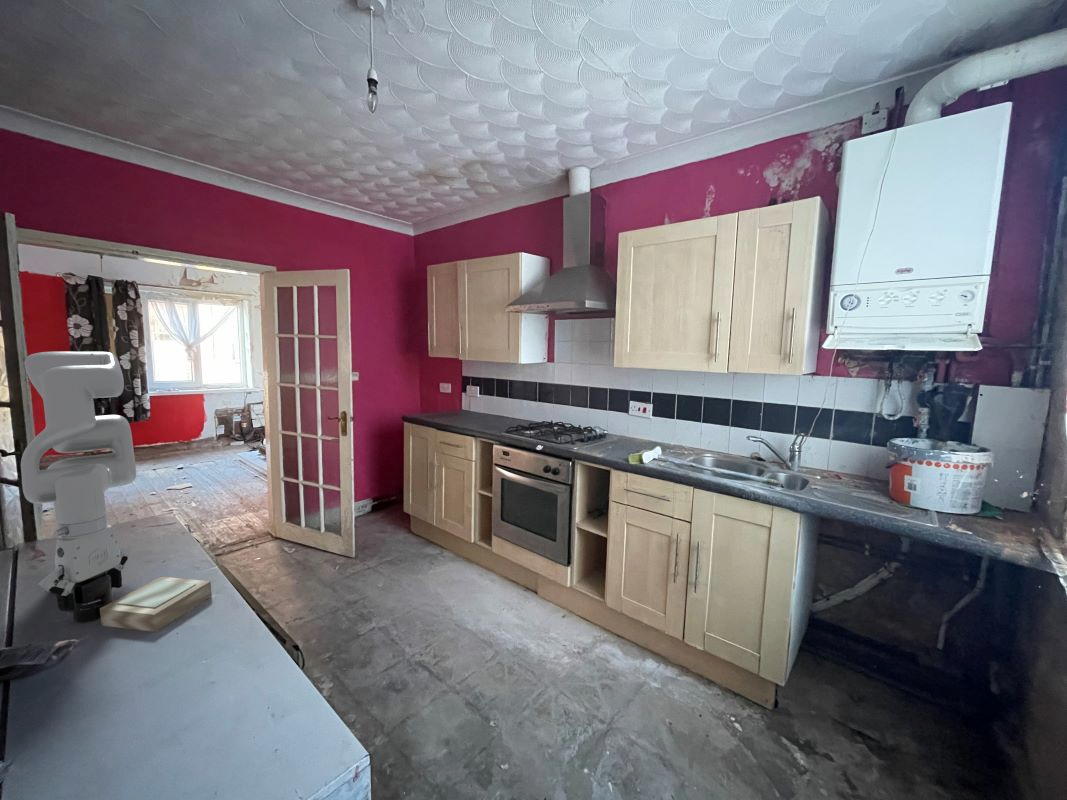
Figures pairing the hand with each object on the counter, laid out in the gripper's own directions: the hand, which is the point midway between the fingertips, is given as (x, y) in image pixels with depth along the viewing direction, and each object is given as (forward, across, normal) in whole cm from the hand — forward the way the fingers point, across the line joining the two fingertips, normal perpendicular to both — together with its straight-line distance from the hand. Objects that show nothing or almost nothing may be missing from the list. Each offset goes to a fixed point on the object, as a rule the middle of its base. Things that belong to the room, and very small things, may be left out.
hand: (92, 598), depth 102 cm
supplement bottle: (+4, 0, 0) cm, 4 cm away
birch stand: (+4, +4, -13) cm, 14 cm away
